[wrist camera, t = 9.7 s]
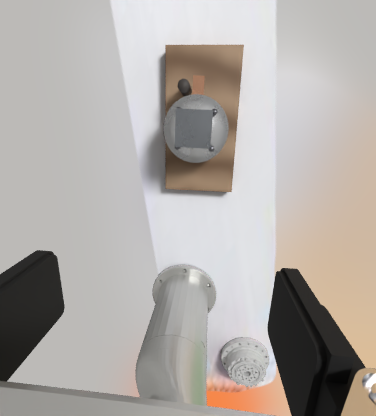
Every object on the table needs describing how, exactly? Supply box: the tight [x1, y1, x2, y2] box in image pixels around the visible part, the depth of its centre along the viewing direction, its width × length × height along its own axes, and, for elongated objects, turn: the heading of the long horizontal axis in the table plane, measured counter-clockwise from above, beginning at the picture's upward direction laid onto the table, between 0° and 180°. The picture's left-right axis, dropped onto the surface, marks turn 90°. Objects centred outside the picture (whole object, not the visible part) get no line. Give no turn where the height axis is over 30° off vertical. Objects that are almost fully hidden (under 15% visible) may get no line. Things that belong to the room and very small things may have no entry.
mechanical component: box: [221, 337, 269, 387], centre depth 49 cm, size 10×4×10 cm
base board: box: [166, 45, 244, 192], centre depth 36 cm, size 21×11×6 cm, turn 178°
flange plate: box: [164, 75, 229, 163], centre depth 31 cm, size 11×9×6 cm
